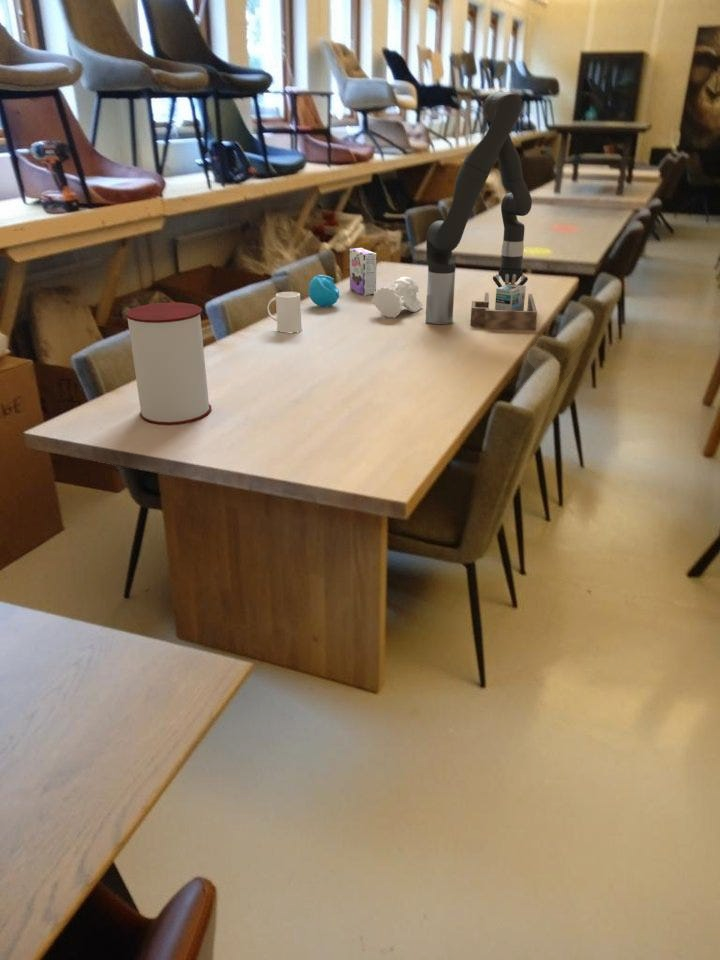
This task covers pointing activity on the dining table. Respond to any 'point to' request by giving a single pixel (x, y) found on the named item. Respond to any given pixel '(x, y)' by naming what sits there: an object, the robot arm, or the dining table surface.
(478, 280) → the dining table surface
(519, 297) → the light bulb box
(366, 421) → the dining table surface
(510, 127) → the robot arm
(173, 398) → the container
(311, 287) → the sphere
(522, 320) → the wooden tray
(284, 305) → the mug
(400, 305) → the cherub figurine
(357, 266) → the candy box
